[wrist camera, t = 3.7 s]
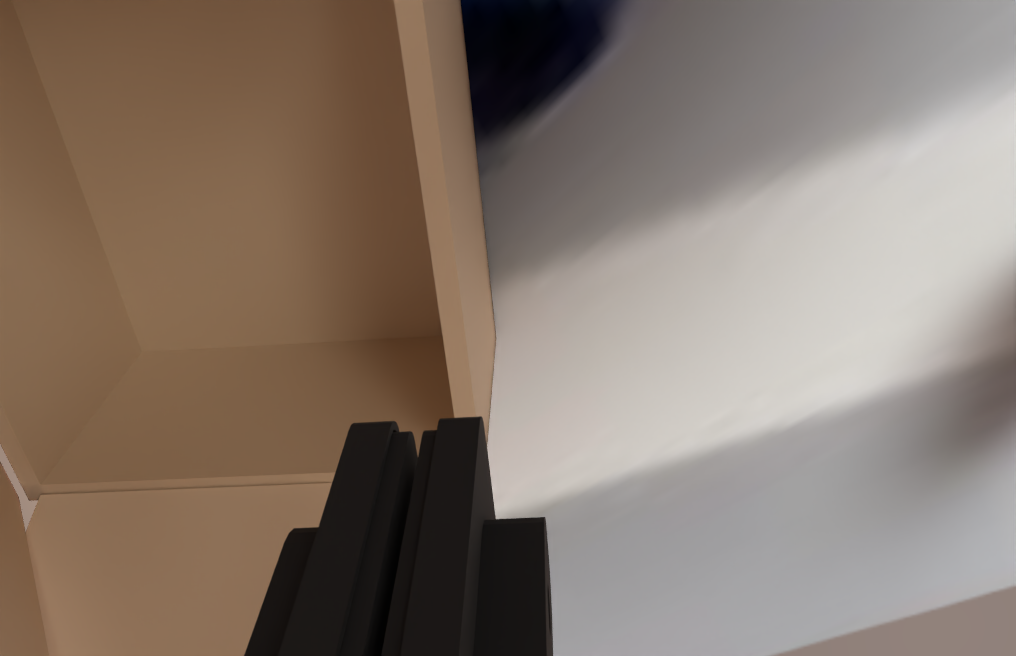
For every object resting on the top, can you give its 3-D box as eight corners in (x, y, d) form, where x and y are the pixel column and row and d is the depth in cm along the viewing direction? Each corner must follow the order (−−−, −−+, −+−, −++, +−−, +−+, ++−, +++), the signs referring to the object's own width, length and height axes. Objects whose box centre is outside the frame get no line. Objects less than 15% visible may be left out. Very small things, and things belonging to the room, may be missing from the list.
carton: (423, -347, 21) (272, -581, 9) (501, 387, 32) (479, 705, 20) (-104, -288, 22) (-865, -428, 10) (155, 404, 33) (-54, 717, 21)
